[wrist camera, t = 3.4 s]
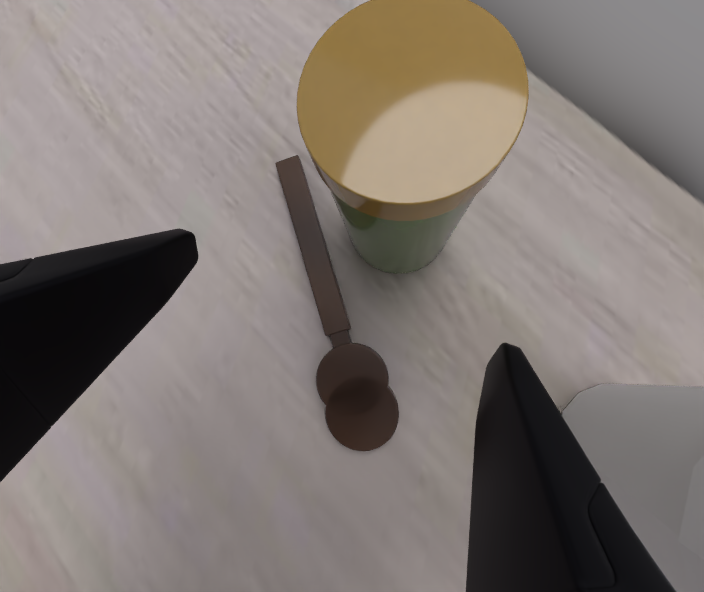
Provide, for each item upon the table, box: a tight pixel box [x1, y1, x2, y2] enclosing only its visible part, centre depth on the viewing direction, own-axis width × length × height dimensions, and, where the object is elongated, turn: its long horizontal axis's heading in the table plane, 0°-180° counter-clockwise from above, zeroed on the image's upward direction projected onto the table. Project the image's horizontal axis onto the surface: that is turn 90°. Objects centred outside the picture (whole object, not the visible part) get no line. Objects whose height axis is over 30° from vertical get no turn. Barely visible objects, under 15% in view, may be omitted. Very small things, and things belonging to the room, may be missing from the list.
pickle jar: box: [297, 0, 529, 274], centre depth 16 cm, size 7×7×12 cm
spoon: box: [276, 155, 399, 451], centre depth 22 cm, size 19×4×1 cm, turn 17°
